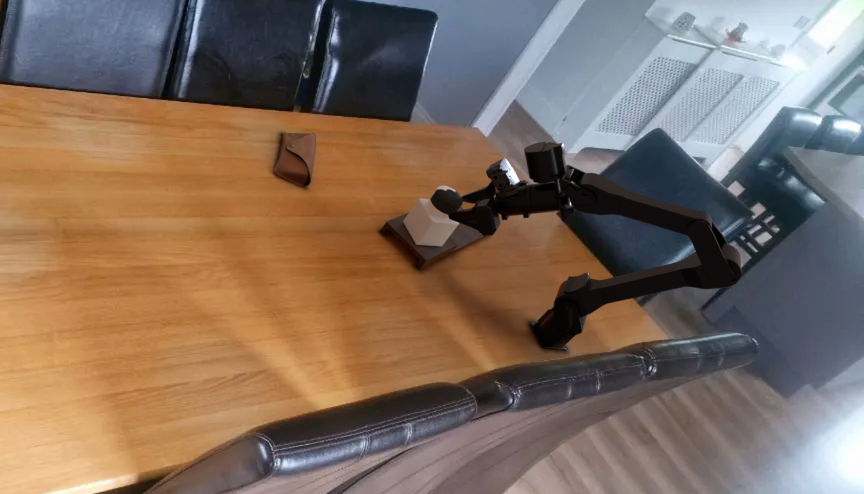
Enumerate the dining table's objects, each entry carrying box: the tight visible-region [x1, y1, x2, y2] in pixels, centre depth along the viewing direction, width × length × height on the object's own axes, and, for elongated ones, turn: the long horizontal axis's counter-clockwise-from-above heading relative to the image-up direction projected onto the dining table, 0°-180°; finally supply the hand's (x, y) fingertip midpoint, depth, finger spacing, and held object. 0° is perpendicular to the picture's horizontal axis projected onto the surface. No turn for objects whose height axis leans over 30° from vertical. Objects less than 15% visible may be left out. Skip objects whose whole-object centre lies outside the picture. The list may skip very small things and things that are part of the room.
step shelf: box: [379, 206, 485, 270], centre depth 158 cm, size 30×12×3 cm, turn 135°
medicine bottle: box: [403, 185, 464, 246], centre depth 147 cm, size 7×7×12 cm
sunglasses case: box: [273, 131, 317, 188], centre depth 158 cm, size 18×7×7 cm, turn 176°
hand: (455, 207), depth 144 cm, fingers open, 9 cm apart
